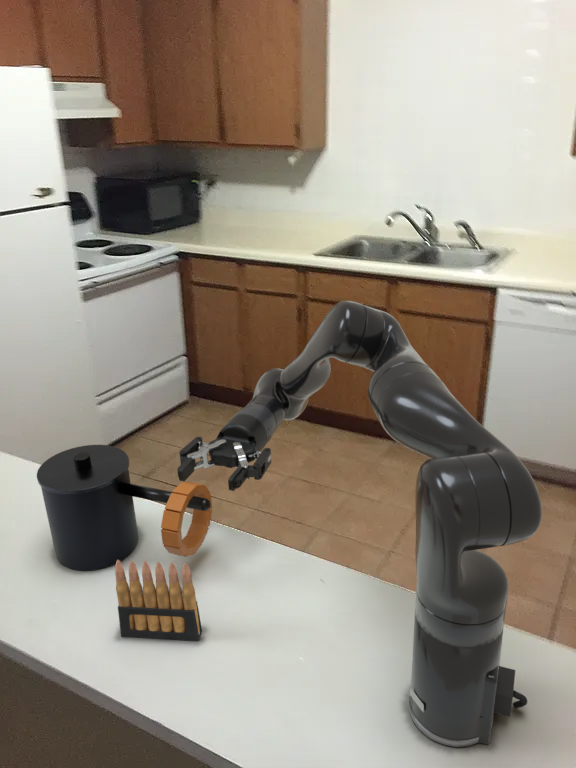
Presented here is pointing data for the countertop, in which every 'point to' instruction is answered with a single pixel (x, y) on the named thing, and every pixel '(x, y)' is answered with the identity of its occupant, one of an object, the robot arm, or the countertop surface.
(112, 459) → the saucepan
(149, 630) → the ammunition clip
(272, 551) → the countertop surface
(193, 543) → the bracelet
